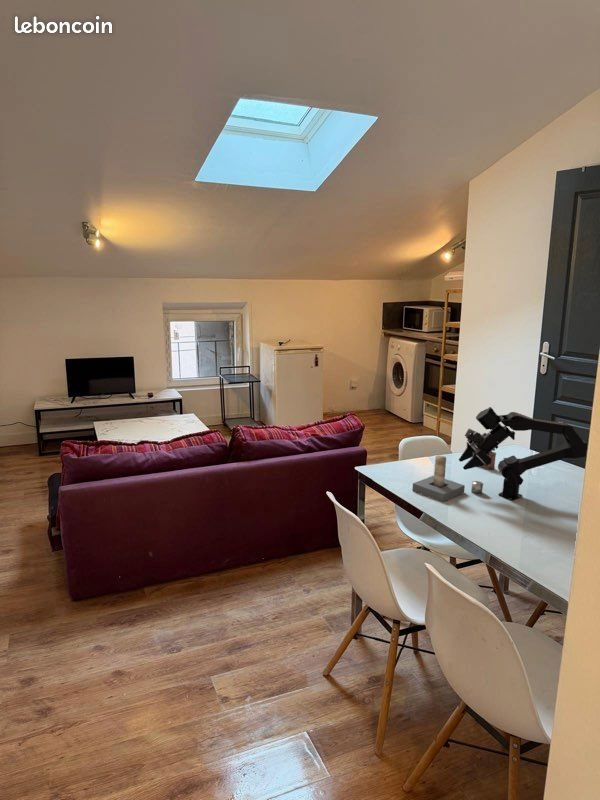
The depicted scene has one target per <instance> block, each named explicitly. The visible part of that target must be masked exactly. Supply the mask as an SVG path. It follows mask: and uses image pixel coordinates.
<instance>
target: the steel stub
mask: <svg viewBox="0 0 600 800" xmlns="http://www.w3.org/2000/svg"><path fill="white" fill-rule="evenodd" d="M483 487H484V483H483V482H482V481H478V480H474V481H473V480H472V482H471V494H473V495H477V496H478V495H479V496H480V495H482V494H483V490H484V489H483Z"/></svg>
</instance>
